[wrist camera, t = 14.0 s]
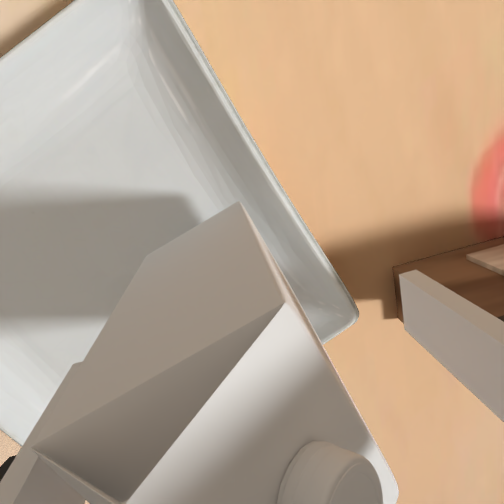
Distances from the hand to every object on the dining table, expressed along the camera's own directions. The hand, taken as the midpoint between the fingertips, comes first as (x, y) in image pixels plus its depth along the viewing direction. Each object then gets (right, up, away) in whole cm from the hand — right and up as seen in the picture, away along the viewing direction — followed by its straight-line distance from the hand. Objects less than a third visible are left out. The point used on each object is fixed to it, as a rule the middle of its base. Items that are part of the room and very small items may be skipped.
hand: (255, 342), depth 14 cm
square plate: (-10, +3, +12) cm, 16 cm away
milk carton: (-2, +3, +9) cm, 10 cm away
